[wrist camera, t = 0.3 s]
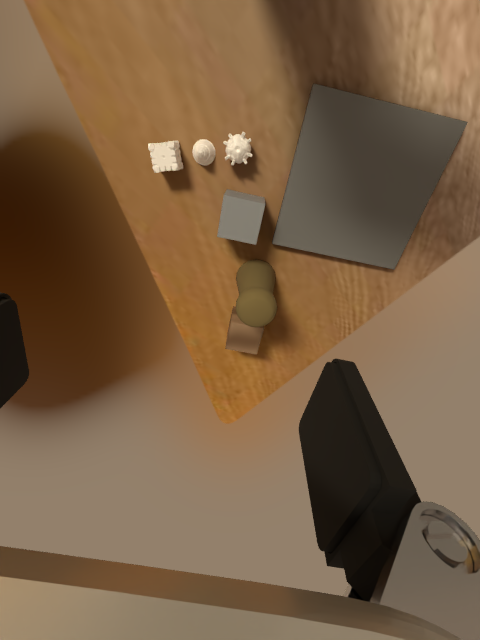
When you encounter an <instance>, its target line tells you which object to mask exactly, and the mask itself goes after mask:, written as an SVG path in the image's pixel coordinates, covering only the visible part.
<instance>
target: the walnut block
mask: <svg viewBox="0 0 480 640" xmlns="http://www.w3.org/2000/svg"><path fill="white" fill-rule="evenodd" d="M263 331H264V326H263V327H250V326H248V325H245V324H244V323H243V322H242V321H241V320H240V319H239V317H238V316H237V313H236V307H234V306H233V310H232V314H231V319H230V324H229V328H228V334H227V341H226V348H225V349H230V350H235V351H240V352H246V353H251V354H257V352H258V348H259V345H260V341H261V338H262V334H263Z"/></svg>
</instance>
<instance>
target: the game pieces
mask: <svg viewBox="0 0 480 640" xmlns="http://www.w3.org/2000/svg"><path fill="white" fill-rule="evenodd" d="M228 136H229V137H230V139H229V140H228V142H227V141H224V143H223V144H225V145H226V153H227V156H226V157H225V159H226V160H227V159H230V160H231V161H232V163H231V165H233V166H234V164H235V163H237V164H240V163H242V162H244V163H245V164H247V160H246V159H247V158H248V157H252V154H251V153H250V151H251V145H250V143H249V142H251V139H250V138H249V139H247V138H246V137H244V136H245V133H244V132H243V133H242V135H240V134H235V135H234V136H232V134H231V133H230V134H229V135H228ZM179 148H180V144H179V141H168V142H163V143H149V145H148V149H149V150H150V151H151V152H150V155H151V158H153V159H152V164H154V166H153V170H154V172H155V173H159V172H160V171H161V172H162V171H171V170H173V171H177V170H180V169H183V163H182V162H181V161H182V159H181V156H180V154H181V153H180V149H179ZM193 156H194V159H195V160H196V162H197V163H199V164H200V165H205V166H206V165H209V164H211V163H212V162H213V160H214V158H215V148H214V146H213V144H212V143H211V142H210V141H208V140H205V139H202V140H199V141H197V142H196V143H195V145H194V147H193Z"/></svg>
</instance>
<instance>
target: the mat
mask: <svg viewBox="0 0 480 640" xmlns="http://www.w3.org/2000/svg"><path fill="white" fill-rule="evenodd" d="M467 123H468V122H465V121H461V120H457V119H453V118H449V117H445V116H441V115H438V114H434V113H430V112H426V111H422V110H418V109H414V108H410V107H406V106H402V105H398V104H394V103H390V102H386V101H382V100H378V99H374V98H370V97H366V96H362V95H358V94H354V93H350V92H346V91H342V90H338V89H334V88H330V87H326V86H322V85H318V84H313V85H312V89H311V93H310V97H309V101H308V105H307V109H306V112H305V116H304V120H303V124H302V128H301V132H300V136H299V140H298V143H297V147H296V151H295V155H294V159H293V163H292V167H291V171H290V174H289V178H288V182H287V186H286V190H285V194H284V198H283V202H282V205H281V209H280V213H279V217H278V221H277V225H276V229H275V232H274V236H273V240H272V244H276V245H281V246H285V247H290V248H295V249H299V250H304V251H309V252H314V253H318V254H323V255H328V256H333V257H337V258H342V259H347V260H351V261H356V262H361V263H366V264H370V265H375V266H380V267H384V268H389V269H395V267H396V265H397V263H398V261H399V259H400V257H401V255H402V253H403V251H404V249H405V247H406V245H407V243H408V241H409V239H410V237H411V235H412V233H413V231H414V229H415V227H416V225H417V223H418V221H419V219H420V217H421V215H422V213H423V211H424V209H425V207H426V205H427V203H428V201H429V199H430V197H431V195H432V193H433V191H434V189H435V187H436V185H437V183H438V181H439V179H440V177H441V175H442V173H443V171H444V169H445V167H446V165H447V163H448V161H449V159H450V157H451V155H452V153H453V151H454V149H455V147H456V145H457V143H458V141H459V139H460V137H461V135H462V133H463V131H464V129H465V127H466V125H467Z"/></svg>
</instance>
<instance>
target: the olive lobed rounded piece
mask: <svg viewBox="0 0 480 640" xmlns="http://www.w3.org/2000/svg"><path fill="white" fill-rule="evenodd" d="M275 279H276V276H275V272H274V270H273V268H272V266H270V265H269V264H268V263H267V262H265V261H262V260H250V261H248V262H246V263H244V264H243V265H242V266H241V267H240V268H239V270H238V272H237V276H236V281H237V286H238V291H239V297H238V299H237V301H236V313H237V316H238V317H239V319H240V320H241V321H242V322H243V323H244V324H245V325H248V326H250V327H263V326H265V325H267V324H269V323H270V322H271V321H272V320H273V318H274V317H275V315H276V311H277V304H276V299H275V298H274V296H273V291H274V285H275Z"/></svg>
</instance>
